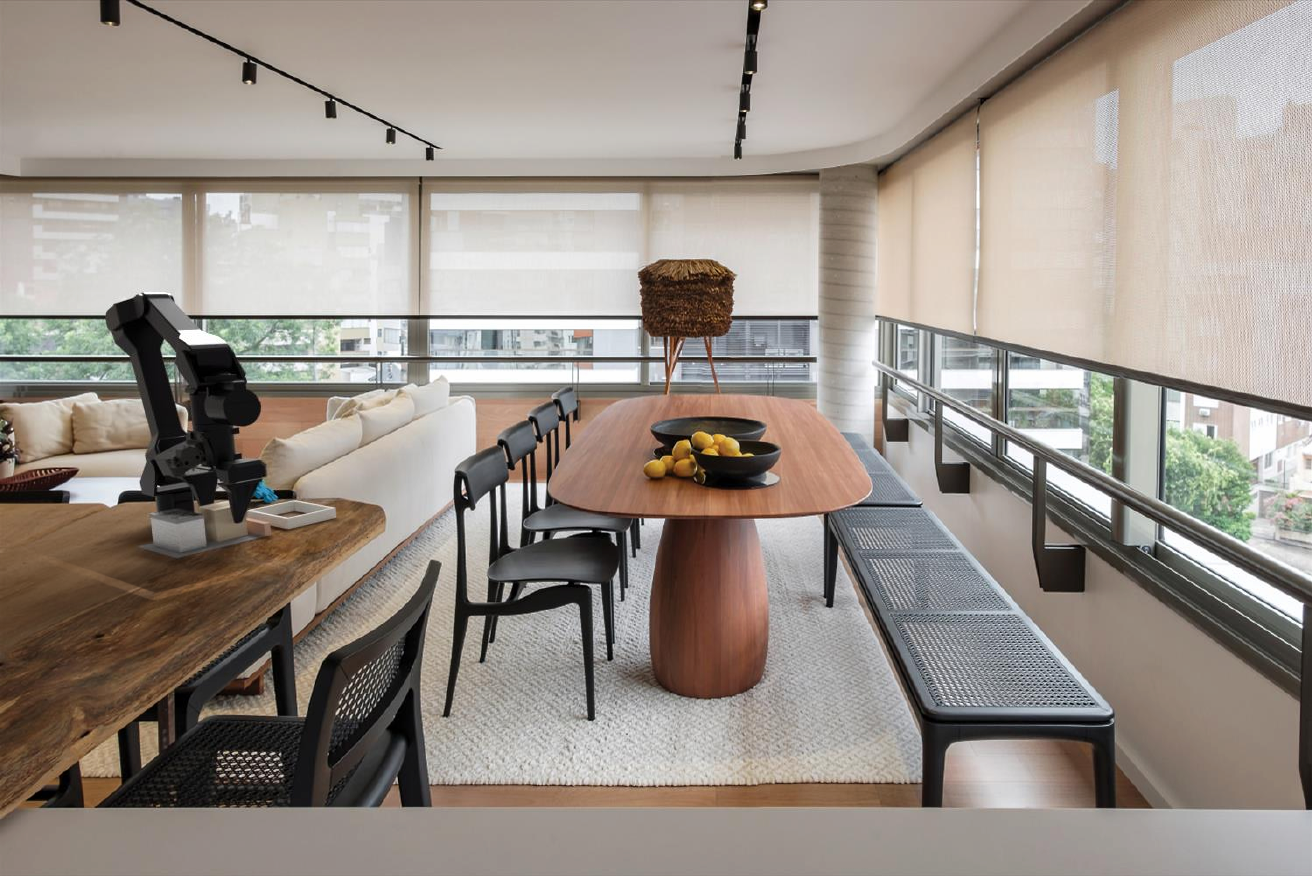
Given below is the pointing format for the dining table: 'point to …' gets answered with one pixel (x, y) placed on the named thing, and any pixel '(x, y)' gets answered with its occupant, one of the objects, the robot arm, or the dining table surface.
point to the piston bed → (254, 532)
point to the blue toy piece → (265, 493)
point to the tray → (313, 516)
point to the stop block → (221, 522)
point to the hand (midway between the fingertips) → (222, 519)
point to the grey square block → (178, 530)
